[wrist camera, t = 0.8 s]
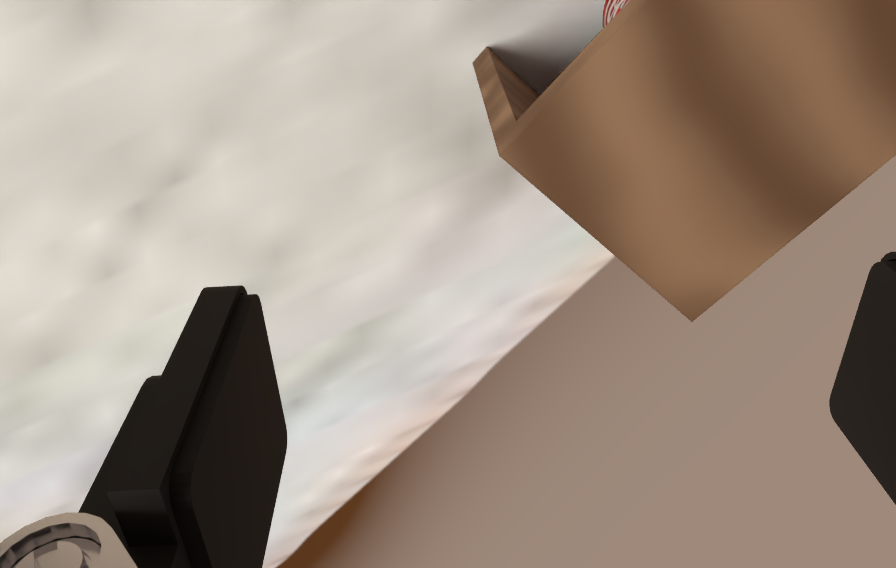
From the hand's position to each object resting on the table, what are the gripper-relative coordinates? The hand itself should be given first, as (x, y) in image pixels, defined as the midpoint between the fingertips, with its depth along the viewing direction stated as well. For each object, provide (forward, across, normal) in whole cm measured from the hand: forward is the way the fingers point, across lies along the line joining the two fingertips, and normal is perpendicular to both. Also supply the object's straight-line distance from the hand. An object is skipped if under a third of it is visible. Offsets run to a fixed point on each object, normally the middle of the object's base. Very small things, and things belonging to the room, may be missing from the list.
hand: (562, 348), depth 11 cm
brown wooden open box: (+33, -10, +3) cm, 35 cm away
